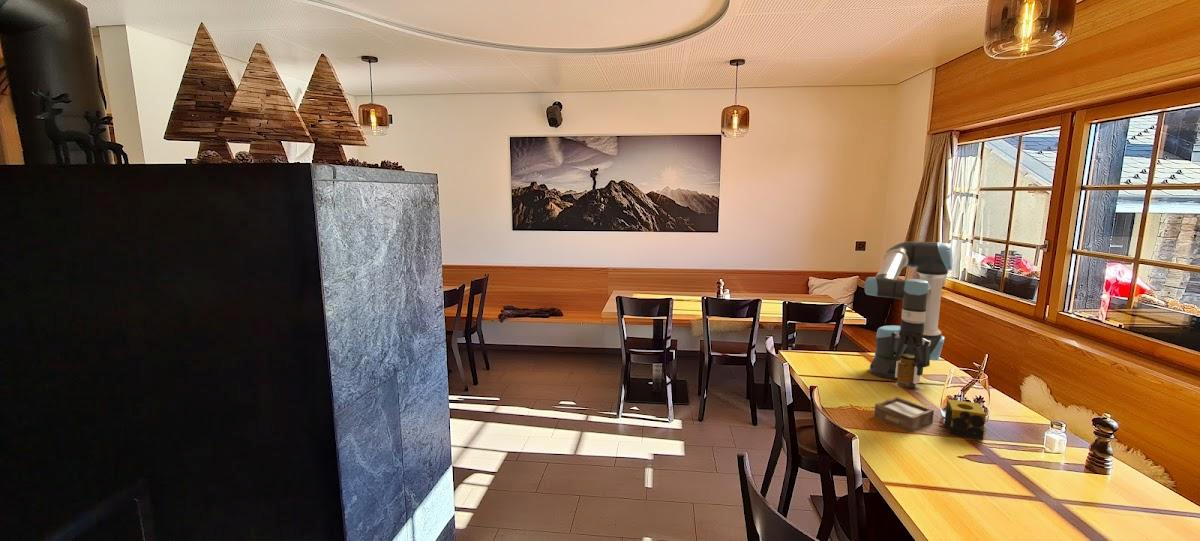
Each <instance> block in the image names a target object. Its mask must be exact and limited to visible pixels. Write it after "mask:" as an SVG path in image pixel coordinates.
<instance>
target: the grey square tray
mask: <svg viewBox="0 0 1200 541" xmlns="http://www.w3.org/2000/svg"><path fill="white" fill-rule="evenodd" d="M874 405H875V406H874V415H873V416H874V418H876V419H880V420H881V421H884V422H886V423H888V424H891V425H893V426H897V427H898V428H901V429H903V430H905V431H909V432H911V433H912V432H915V431H917V430H919V429H922V428H924V427H927V426H930V425H932V424H933V421H934V412H935V411H934V409H931V408H929V407H926V406H923V405H920V404H919V403H918V404H917V403H915V402H912V401H909V400H906V399H903V398H901V397H898V396H895V397H892V398H889V399H886V400H883V401H880V402H878V403H875V404H874Z"/></svg>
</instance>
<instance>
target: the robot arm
mask: <svg viewBox="0 0 1200 541" xmlns="http://www.w3.org/2000/svg"><path fill="white" fill-rule="evenodd" d="M952 249H953V248H952V246H951V244H949V243H944V242H939V241H937V242H936V241H915V240H913V241H912V240H910V241H902V242H900V243H898V244H895V245H893V246H891V247H890V248H889V249H888V250H886V251H885V254H884V255H883V263H882V264H881V266H880V268H879V269H878V272H877V273H876V274H875V276H868V277H867V278H865V282H864V293H865V295H867V296H874V297H881V298H882V297H883V298H890V299H899V300H902V308H901V320H900V325H892V324H891V325H883V326H879V327H878V328H877V330H876V336H875V338H876V340H875V349H874V357H873V359H872V360H871V362H870V365H869V373H870V374H872V375H875V376H876V377H879V376H880V378H883V377H884V378H885V379H891V380H898V370H899V362H900V361H901V360H900V359H901V355H902V354H911V355H914V356H915V358H916V363H917V366H915V369H914V379H913V383H914V384H916V385H917V384H919V383H920V380H921V376H922V375H923V373H924V368H927V367H930V361H933V362H934V361H938V360H939V359H940V356H941V353H942V349H943V345H944V342H945V336H944V335H942V331H941V330H940V329H939V320H940V310H941V301H942V300H941V299H942V291H943V280H944V278H945V276H947V275H948V273H949V271H953V266H954V265H953V263H954V262H953V250H952ZM905 267H907V268H915V269H916V271H915V272H916V273H917V274H918V275H919V278H909V279H908V278H907V279H898V278H899V276H900V274H901V272H902V270H903V269H904V268H905Z"/></svg>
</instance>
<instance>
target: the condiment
mask: <svg viewBox="0 0 1200 541" xmlns="http://www.w3.org/2000/svg"><path fill="white" fill-rule="evenodd" d="M900 360H901V361H900V362H899V370H898V379H896V380H897V382H896V383H894V384H893V385H892V386H894V387H897V388H901V389H903V390H904V389H905V390H908V391H912V392H916V393H918V392H920V391H922V390H924V389H925V386H922V385H917V383H916V384H914V383H913V379H914V369H915V366H917V363H916V358H915V356H914V355H911V354H902V355H901V359H900Z"/></svg>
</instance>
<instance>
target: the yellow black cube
mask: <svg viewBox="0 0 1200 541" xmlns="http://www.w3.org/2000/svg"><path fill="white" fill-rule="evenodd" d="M944 414H945V415H944V424H945V427H946V429H947V432H948V433H949V435H951V436H955V437H956V436H957V437H962V438H967V439H968V438H969V439H976V440H984V433H985V424H986V415H987V414H986V412H985V411H984V409H983V407H982V406H981V404H980V403H979V402H971V401H964V400H956V399H950V398H949V399H948V398H947V399H946V407H945V413H944Z"/></svg>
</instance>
